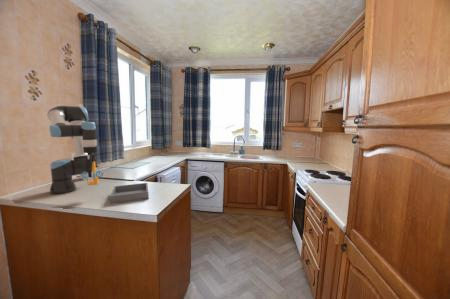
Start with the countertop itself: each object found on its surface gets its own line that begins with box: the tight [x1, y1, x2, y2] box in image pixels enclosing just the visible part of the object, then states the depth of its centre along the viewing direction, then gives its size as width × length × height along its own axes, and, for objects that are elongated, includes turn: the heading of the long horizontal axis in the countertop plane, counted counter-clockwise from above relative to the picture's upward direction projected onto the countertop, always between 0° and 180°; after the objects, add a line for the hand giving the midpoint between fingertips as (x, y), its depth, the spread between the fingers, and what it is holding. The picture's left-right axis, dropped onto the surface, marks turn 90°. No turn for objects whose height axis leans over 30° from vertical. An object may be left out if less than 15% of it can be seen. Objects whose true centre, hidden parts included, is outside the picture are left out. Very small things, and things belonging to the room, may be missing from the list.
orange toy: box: [81, 161, 104, 186], centre depth 132 cm, size 12×10×15 cm
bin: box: [109, 182, 150, 205], centre depth 138 cm, size 22×22×5 cm
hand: (92, 179), depth 132 cm, fingers closed on orange toy, 11 cm apart
